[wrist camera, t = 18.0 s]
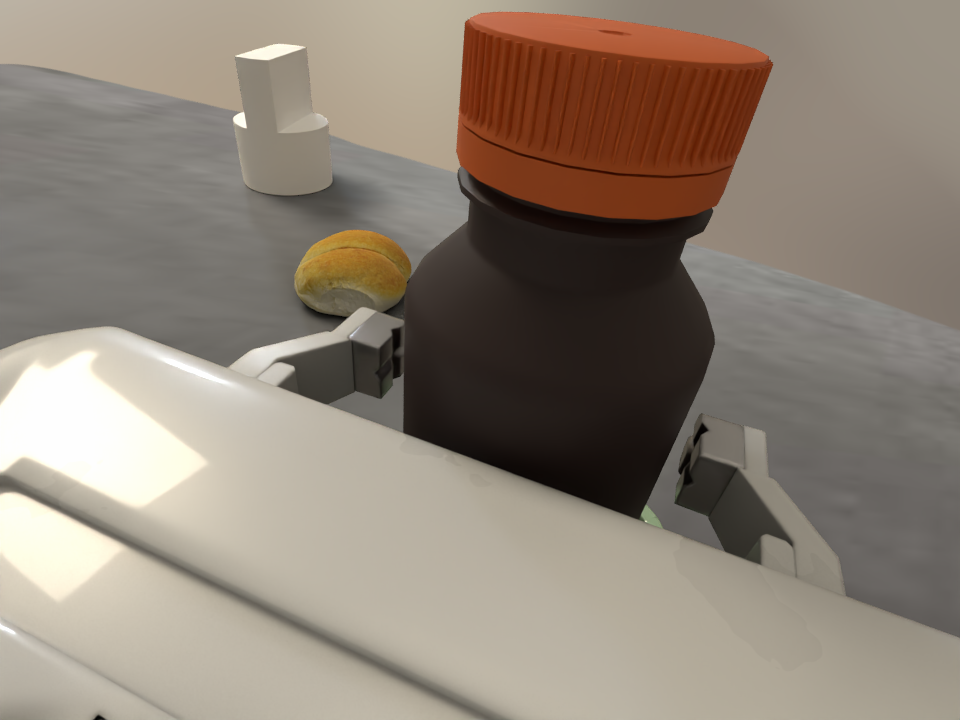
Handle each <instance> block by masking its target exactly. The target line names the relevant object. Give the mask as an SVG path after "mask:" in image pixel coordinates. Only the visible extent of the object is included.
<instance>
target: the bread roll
mask: <svg viewBox="0 0 960 720" xmlns="http://www.w3.org/2000/svg"><path fill="white" fill-rule="evenodd" d="M410 274H411V264H410V261H409V259H408V257H407V255H406V254H405V252H404V251H403V250H402V249H401V248H400V247H399V246H398V245H397V244H396V243H395V242H394V241H393V240H391V239H389V238H388V237H386V236H383V235H380V234H378V233H375V232H370V231H365V230H349V231H343V232H340V233H337V234H334V235H332V236H329V237H328V238H326V239H324V240H322V241H320V242H318V243H316V244H314V245H313V246H312V247H311V248H310V249H309V250H308V252H307V253H306V255H305V256H304V257H303V259H302V261H301V263H300V265H299V267H298V269H297V272H296V273H295V282H294V283H295V290H296V293H297V295H298V296H299V298H300V299H301V301H303V302H304V303H305V304H306V305H307V306H308V307H310V308H312V309H314V310H316V311H318V312H321V313H326V314H333V315H339V316H344V317H350V316H351V315H352V314H353V313H354V312H356V311H357V310H358V309H359V308H361V307H366V308H369V309H372V310H375V311H378V312H383V311H386V310H387V309H389V308H391V307H393V306H394V305H396V304H397V303H398V302H399V301H400V299H401V298H402V297H403V295H404V294H405V290H406V286H407V281H408V279H409V277H410Z"/></svg>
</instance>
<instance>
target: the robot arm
mask: <svg viewBox="0 0 960 720" xmlns="http://www.w3.org/2000/svg"><path fill="white" fill-rule="evenodd" d="M403 372H404V320H402V319H399V318H396V317H393V316H390V315H387V314H385V313H382V312H378V311H375V310H372V309H369V308H366V307H361V308H359V309H358V310H357V311H356V312H354V313H353V314H352V315H351V316H350V317H349V318H347V319H346V320H345V321H344V322H343V323H342V324H340V325H339V326H338V327H337V328H336V329H335V330H334V331H332V332H331V333H330V332H327V331H326V332H322V333H318V334H314V335H310V336H306V337H302V338H298V339H294V340H290V341H285V342H281V343H277V344H273V345H269V346H265V347H261V348H257V349H253V350H250V351H249V352H248V353H246V354H245V355H244V356H242V357H241V358H240V359H239V360H237V361H236V362H235V363H233V364H232V365H231V366H229V367H228V368H225V367H223V366H220V365H217V364H215V363H212V362H209V361H206V360H204V359H201V358H198V357H196V356H193V355H190V354H187V353H185V352H182V351H179V350H177V349H174V348H171V347H168V346H166V345H163V344H160V343H158V342H155V341H152V340H150V339H147V338H144V337H142V336H139V335H137V334H134V333H132V332H129V331H126V330H124V329H120V328H116V327H97V328H87V329H80V330H74V331H68V332H62V333H56V334H50V335H44V336H39V337H35V338H32V339H28V340H25V341H22V342H20V343H17V344H14V345H12V346H9V347H7V348H4V349H2V350H0V720H960V638H958V637H955V636H953V635H950V634H947V633H945V632H942V631H939V630H936V629H934V628H931V627H928V626H925V625H923V624H920V623H917V622H915V621H912V620H909V619H906V618H904V617H901V616H898V615H895V614H893V613H890V612H887V611H885V610H882V609H879V608H876V607H874V606H871V605H868V604H866V603H863V602H860V601H857V600H855V599H852V598H849V597H847V596H846V595H845V589H844V583H843V577H842V571H841V566H840V560H839V558H838V557H837V555H836V554H835V553H834V552H833V550H832V549H831V548H830V547H829V545H828V544H827V543H826V542H825V541H824V539H823V538H822V537H821V536H820V534H819V533H818V532H817V531H816V529H815V528H814V527H813V526H812V525H811V523H810V522H809V521H808V520H807V518H806V517H805V516H804V515H803V514H802V512H801V511H800V510H799V509H798V507H797V506H796V505H795V504H794V502H793V501H792V500H791V499H790V498H789V496H788V495H787V494H786V493H785V491H784V490H783V489H782V488H781V487H780V485H779V484H778V483H777V482H776V480H775V479H772V478H769V473H768V459H767V444H766V434H765V432H764V431H761V430H758V429H754V428H751V427H747V426H744V425H742V426H741V425H738V424H735V423H731V422H728V421H725V420H722V419H718V418H715V417H712V416H709V415H705V414H702V413H701V414H700V415H699V417H698V418H697V420H696V423H695V425H694V433H693V435H692V436H690V437H688V439H687V442H686V444H685V446H684V449H683V452H682V455H681V458H680V463H679V469H678V472H679V473H680V475H681V476H680V478H679V480H678V482H677V486H676V495H675V504H677V505H680V506H682V507H685V508H687V509H690V510H693V511H695V512H698V513H701V514H703V515H706V516H708V517H709V520H710V522H711V524H712V526H713V528H714V530H715V532H716V534H717V536H718V538H719V540H720V542H721V544H722V546H723V548H724V550H725V552H724V551H722V550H719V549H716V548H714V547H711V546H708V545H705V544H703V543H700V542H697V541H695V540H692V539H689V538H686V537H684V536H681V535H678V534H676V533H673V532H670V531H668V530H665V529H662V528H659V527H657V526H654V525H651V524H649V523H646V522H643V521H640V520H638V519H635V518H632V517H630V516H627V515H624V514H621V513H619V512H616V511H613V510H611V509H608V508H605V507H602V506H600V505H597V504H594V503H592V502H589V501H586V500H583V499H581V498H578V497H575V496H573V495H570V494H567V493H564V492H562V491H559V490H556V489H554V488H551V487H548V486H545V485H543V484H540V483H537V482H535V481H532V480H529V479H526V478H524V477H521V476H518V475H516V474H513V473H510V472H507V471H505V470H502V469H499V468H497V467H494V466H491V465H488V464H486V463H483V462H480V461H478V460H475V459H472V458H469V457H467V456H464V455H461V454H459V453H456V452H453V451H450V450H448V449H445V448H442V447H440V446H437V445H434V444H431V443H429V442H426V441H423V440H421V439H418V438H415V437H413V436H410V435H407V434H404V433H402V432H399V431H396V430H394V429H391V428H388V427H385V426H383V425H380V424H377V423H375V422H372V421H369V420H366V419H364V418H361V417H358V416H356V415H353V414H350V413H347V412H345V411H342V410H339V409H337V408H334V407H331V406H328V405H327V404H329V403H331V402H333V401H336V400H338V399H340V398H342V397H345V396H347V395H349V394H351V393H354V392H355V391H357V392H361V393H364V394H367V395H370V396H373V397H376V398H379V399H381V398H382V397H383V396H384V395H385V394H386V393H387V391H388V390H389V389H390V388H391V387H392V386H393V379H394V378H397V377H400V376H401V375H402V374H403Z"/></svg>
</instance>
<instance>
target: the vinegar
mask: <svg viewBox="0 0 960 720" xmlns="http://www.w3.org/2000/svg"><path fill="white" fill-rule="evenodd" d="M772 66H773V64H772V62H771V60H769V56H767V55H765V54H764V53H762V52H760V51H759V50H757V49H754V48H751V47H748V46H745V45H742V44H738V43H735V42H731V41H726V40H722V39H718V38H714V37H710V36H705V35H700V34H695V33H690V32H684V31H679V30H673V29H668V28H662V27H656V26H649V25H643V24H636V23H628V22H622V21H614V20H606V19H598V18H588V17H579V16H569V15H559V14H544V13H529V12H490V13H481V14H478V15H476V16H473V17H471V18H470V20H468V21H466V22H465V31H464V46H463V62H462V78H461V92H460V106H459V120H458V134H457V149H456V152H457V155H458V159H459V161H460V165H461V167H460V168H459V170H458V177H457V178H458V181H459V185H460V189H461V192H462V193H463V194H464V195H465V196H466V197H467V198H468V199H469V200H470V204H469V216H468V221H467V222H466V223H465V224H463V225H462V226H461V227H460V228H459V229H457V230H456V231H455V232H454V233H452V234H451V235H450V236H449V237H448V238H446V239H445V240H444V241H443V242H441V243H440V244H439V245H438V246H436V247H435V248H434V249H433V250H432V251H430V252H429V253H428V254H427V255H426V256H425V257H424V258H423V259H422V261H421V262H420V264H419V266H418V267H417V269H416V270H415V272H414V274H413V275H412V277H411V279H410V280H409V282H408V284H407V286H406V290H405V296H404V424H403V433H404V434H407V435H410V436H413V437H415V438H418V439H421V440H423V441H426V442H429V443H431V444H434V445H437V446H440V447H442V448H445V449H448V450H450V451H453V452H456V453H459V454H461V455H464V456H467V457H469V458H472V459H475V460H478V461H480V462H483V463H486V464H488V465H491V466H494V467H497V468H499V469H502V470H505V471H507V472H510V473H513V474H516V475H518V476H521V477H524V478H526V479H529V480H532V481H535V482H537V483H540V484H543V485H545V486H548V487H551V488H554V489H556V490H559V491H562V492H564V493H567V494H570V495H573V496H575V497H578V498H581V499H583V500H586V501H589V502H592V503H594V504H597V505H600V506H602V507H605V508H608V509H611V510H613V511H616V512H619V513H621V514H624V515H627V516H630V517H632V518H635V519H638V520H639V518H640V516H641V514H642V512H643V510H644V507H645V505H646V503H647V501H648V499H649V497H650V494H651V492H652V490H653V488H654V486H655V483H656V481H657V479H658V477H659V475H660V473H661V470H662V468H663V466H664V464H665V462H666V460H667V457H668V455H669V453H670V451H671V449H672V446H673V444H674V442H675V440H676V438H677V436H678V433H679V431H680V429H681V427H682V425H683V423H684V420H685V418H686V416H687V414H688V412H689V409H690V407H691V405H692V403H693V401H694V399H695V396H696V394H697V392H698V390H699V388H700V386H701V383H702V381H703V379H704V376H705V373H706V370H707V367H708V364H709V361H710V358H711V355H712V352H713V348H714V345H715V338H714V332H713V329H712V325H711V322H710V319H709V315H708V312H707V309H706V306H705V303H704V301H703V299H702V297H701V296H700V294H699V292H698V290H697V289H696V287H695V285H694V283H693V281H692V280H691V278H690V276H689V274H688V273H687V271H686V269H685V267H684V266H683V264H682V262H681V260H680V256H681V254H682V251H683V248H684V245H685V243H686V240H687V239H688V238H691V237H693V236H695V235H697V234H699V233H701V232H703V231H704V229H705V228H706V226H707V224H708V222H709V220H710V218H711V216H712V213H713V209H712V207H714V206H716V205H717V204H718V202H719V200H720V198H721V197H722V195H723V193H724V190H725V188H726V185H727V182H728V180H729V177H730V174H731V172H732V169H733V167H734V164H735V161H736V159H737V156H738V154H739V152H740V150H741V147H742V145H743V142H744V139H745V137H746V134H747V131H748V129H749V126H750V124H751V121H752V119H753V116H754V113H755V111H756V108H757V106H758V103H759V100H760V98H761V95H762V92H763V90H764V87H765V85H766V82H767V79H768V77H769V74H770V72H771V69H772Z"/></svg>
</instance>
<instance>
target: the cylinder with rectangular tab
mask: <svg viewBox="0 0 960 720" xmlns="http://www.w3.org/2000/svg"><path fill="white" fill-rule="evenodd" d="M235 61H236V66H237V73H238V79H239V84H240V91H241V97H242V102H243V109H244V112H242V113H239V114H237V115H236V116H234V118H233V124H234V129H235V135H236V140H237V146H238V151H239V157H240V163H241V168H242V174H243V179H244V182H245V184H246V186H248V187H249V188H251V189H253V190H256V191H258V192H262V193H267V194H273V195H303V194H309V193H314V192H318V191H321V190H323V189H325V188H327V187H329V186H330V185H331V183H332V182H333V179H332V166H331V153H330V140H329V127H328V120H327V119H326V118H325V117H324V116H322V115H320V114H317V113H314V112H313V111H312V100H311V90H310V78H309V68H308V57H307V48H306V47H302V46H296V45H288V44H274V45H271V46H267V47H264V48H261V49H257V50H253V51H250V52H247V53H243V54H240V55H237V56H235Z"/></svg>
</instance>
